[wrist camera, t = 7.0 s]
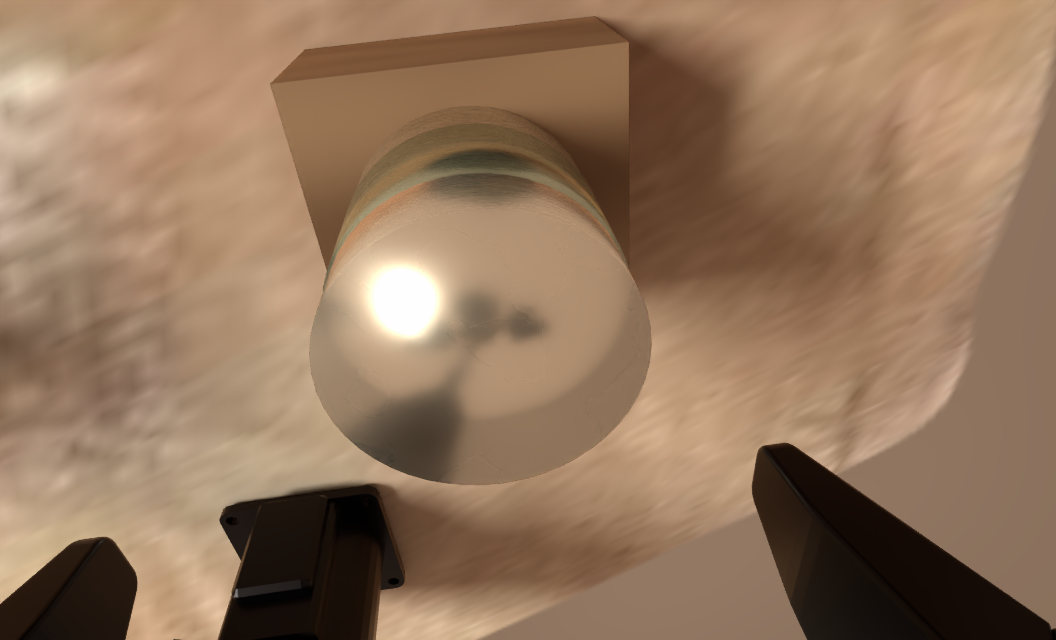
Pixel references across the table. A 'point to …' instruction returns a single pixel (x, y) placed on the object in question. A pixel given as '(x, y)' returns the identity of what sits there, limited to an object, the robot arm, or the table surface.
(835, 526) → the robot arm
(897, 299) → the table surface
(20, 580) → the table surface
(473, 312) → the tin
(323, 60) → the block
